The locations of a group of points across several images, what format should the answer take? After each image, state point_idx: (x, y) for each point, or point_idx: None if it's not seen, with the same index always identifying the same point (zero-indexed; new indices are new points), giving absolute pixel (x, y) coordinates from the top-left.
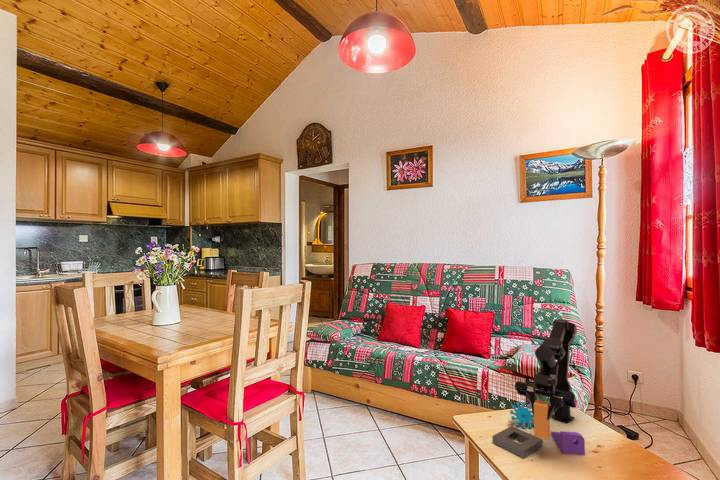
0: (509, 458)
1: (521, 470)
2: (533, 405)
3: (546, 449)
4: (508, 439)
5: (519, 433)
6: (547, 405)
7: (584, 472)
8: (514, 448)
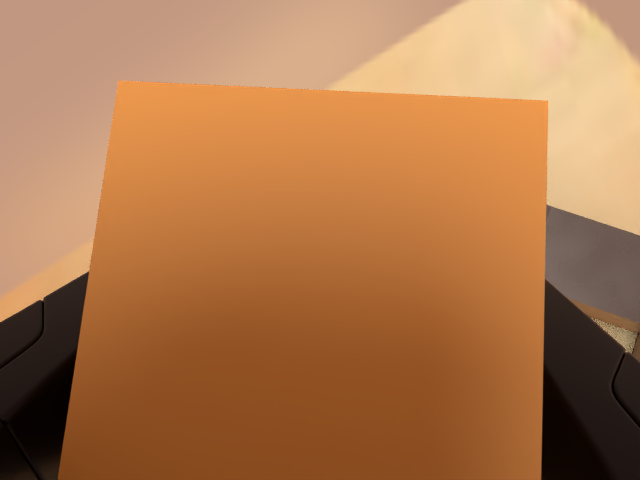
0: (547, 144)
1: (439, 52)
2: (549, 329)
3: None
4: (637, 304)
5: None
6: (101, 220)
7: (84, 255)
8: (548, 209)
